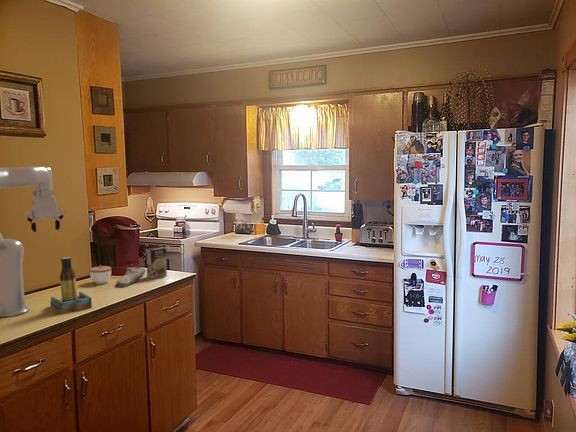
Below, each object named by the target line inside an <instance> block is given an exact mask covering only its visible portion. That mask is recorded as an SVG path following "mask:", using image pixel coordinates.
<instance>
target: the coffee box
mask: <svg viewBox="0 0 576 432" xmlns="http://www.w3.org/2000/svg"><path fill="white" fill-rule="evenodd" d="M167 267H168V266H167V248H165V247H161V246H159V247H151V248H146V277H147V278H149V279H158V278H159V279H160V278H166V277H168V276H167V273H168V269H167Z"/></svg>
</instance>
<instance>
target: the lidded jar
mask: <svg viewBox="0 0 576 432" xmlns="http://www.w3.org/2000/svg"><path fill="white" fill-rule="evenodd" d="M89 275H90V279H91V280H92V282H94V283H95V284H97V285H103V284H104V285H105V284H107V283H108V281H109V280H110V279H111V277H112V267H111V266H108V265H107V266H106V265H104V266H103V265H101V264H99V266H94V267H91V268H89Z"/></svg>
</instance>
